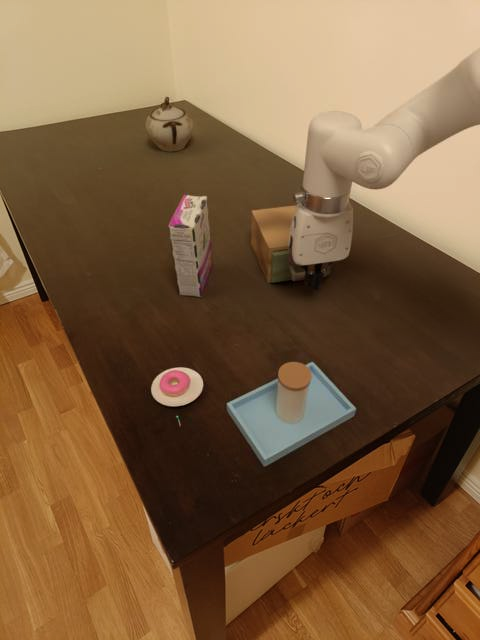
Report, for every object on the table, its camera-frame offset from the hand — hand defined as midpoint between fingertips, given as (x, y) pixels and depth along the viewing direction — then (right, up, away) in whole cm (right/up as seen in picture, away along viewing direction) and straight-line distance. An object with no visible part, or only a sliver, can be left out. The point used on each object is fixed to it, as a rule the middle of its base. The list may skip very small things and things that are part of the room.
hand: (312, 285), depth 81 cm
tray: (-6, -21, -16) cm, 27 cm away
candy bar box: (-23, +2, +8) cm, 24 cm away
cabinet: (-3, +7, +13) cm, 15 cm away
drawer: (-2, +5, +10) cm, 11 cm away
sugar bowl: (-36, +49, +57) cm, 84 cm away
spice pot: (-6, -20, -16) cm, 27 cm away
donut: (-23, -19, -13) cm, 33 cm away
